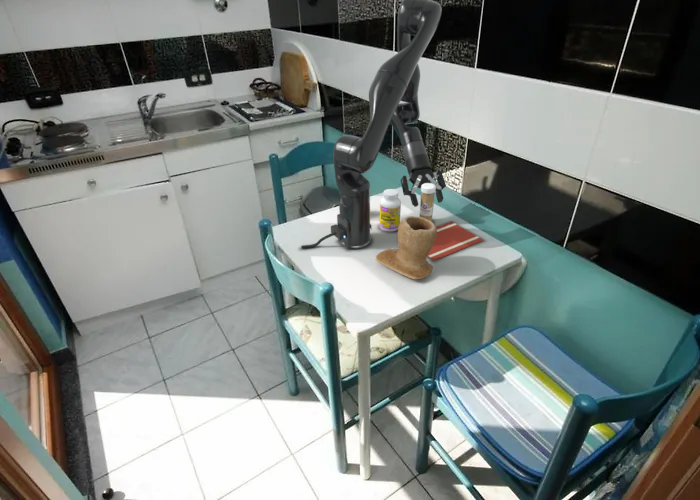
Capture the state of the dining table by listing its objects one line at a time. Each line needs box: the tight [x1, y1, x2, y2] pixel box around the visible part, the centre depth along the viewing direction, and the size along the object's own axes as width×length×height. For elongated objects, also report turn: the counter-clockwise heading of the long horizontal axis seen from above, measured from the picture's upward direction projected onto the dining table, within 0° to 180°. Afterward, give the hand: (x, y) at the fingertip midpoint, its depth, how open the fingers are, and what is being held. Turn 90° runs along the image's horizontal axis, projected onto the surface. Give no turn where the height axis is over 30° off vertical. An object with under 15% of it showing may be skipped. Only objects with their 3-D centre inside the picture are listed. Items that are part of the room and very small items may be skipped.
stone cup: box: [374, 215, 437, 281], centre depth 115 cm, size 15×12×15 cm
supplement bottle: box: [379, 188, 402, 233], centre depth 134 cm, size 7×7×13 cm
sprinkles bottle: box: [418, 183, 436, 222], centre depth 136 cm, size 5×5×13 cm
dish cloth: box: [427, 221, 484, 262], centre depth 130 cm, size 20×14×1 cm
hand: (428, 204), depth 135 cm, fingers open, 8 cm apart
